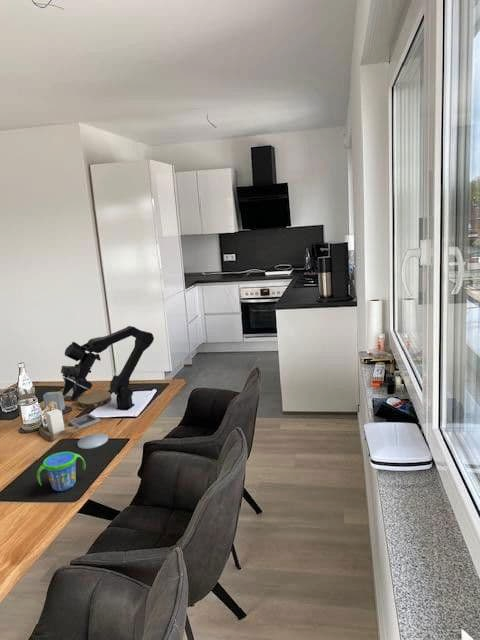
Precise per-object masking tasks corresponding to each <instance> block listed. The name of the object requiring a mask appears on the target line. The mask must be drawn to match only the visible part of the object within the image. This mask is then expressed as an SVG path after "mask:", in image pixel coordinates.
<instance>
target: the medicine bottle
mask: <svg viewBox="0 0 480 640" xmlns="http://www.w3.org/2000/svg"><path fill="white" fill-rule="evenodd" d="M73 382H75V381H73ZM75 383H76V382H75ZM64 384H65V381H64V382H63V383H62V385H63V386H64ZM76 384H77V383H76ZM77 385H78V384H77ZM74 389H75V386H74V387H73V388H72V389H71V390H70V391H69V392H68V393H67V394H66V395H65V396H66V397H70V396H71V397H72V394H73V392H74ZM85 392H86V391H85ZM85 392H84V393H82V394H81V395H84V394H86V393H85ZM71 397H70V398H71Z"/></svg>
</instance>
